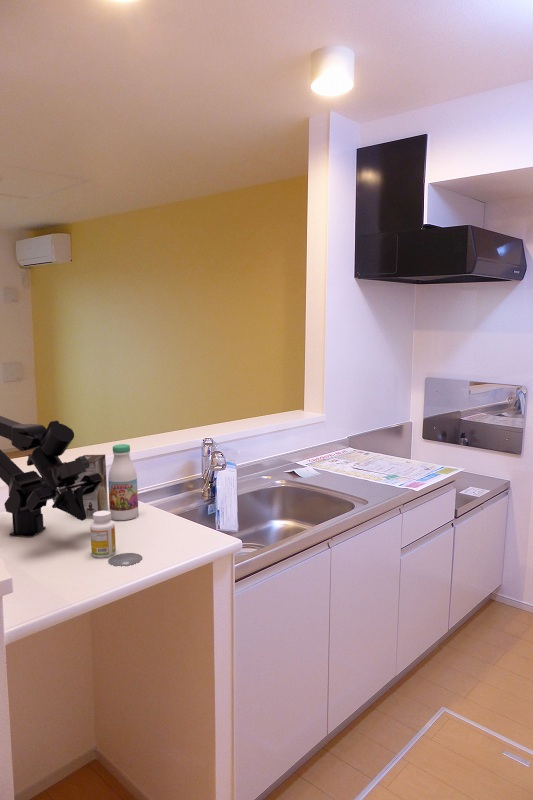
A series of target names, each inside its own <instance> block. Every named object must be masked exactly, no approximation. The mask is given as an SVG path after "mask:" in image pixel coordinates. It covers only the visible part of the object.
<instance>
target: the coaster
mask: <svg viewBox="0 0 533 800" xmlns="http://www.w3.org/2000/svg"><path fill="white" fill-rule="evenodd" d="M141 560H142V561H143V556H142V554H140V553H135V552H124V553H123V552H122V553H119V554H115V555H112V556H110V558H108V560H107V562H108V563H107V564H109V565H110V566H112V565H113V567H117V566H121V567H122V566H125V567H129V566H130V565H131V566H134V564H135V565H136V563H137V564H139V563H141V562H142V561H141ZM140 561H141V562H140ZM121 567H120V568H121Z"/></svg>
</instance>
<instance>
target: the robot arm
mask: <svg viewBox="0 0 533 800" xmlns="http://www.w3.org/2000/svg"><path fill="white" fill-rule="evenodd" d="M0 436H1V437H3V438H5V439H8V440H9V441H11V442H10V443H11V446H12V447H14V448H16V449H17V450H19V451H21V452H26V451H30V450H33V451H32V453H31V454H30V453H29V454H28V456H27V461H26V465H27V467H28V466H29V467H31V466H34V467H35V469H36V471H35V470H29V471H27V472H24V471H23V470H22V469H21V468H20V467H19V466H18V465H17V464H16V463H15V462H14V461H13V460H12V459H11V458H10V457H9V456H7V454H6V453H5V452H4V451H2V449H0V480H2V482H4V483H5V485H7V487H8V498H7V499H6V500H5V502H4V508H5V512H7V513H10V514H12V517H11V518H12V530H13V531H11V532H9V536H13V537H28V538H32V537H34V536H36V535H37V534H40V533H41V532H43V531H45V530H46V529H47V527H46V526H44V514H43V513H42V508H43V507H46V506H47V503H48V501H49V500H52V502H53V504H52V506H51V507H52V508H53V509H58V510H60V511H63V512H65V513H67V514H69V515H70V516H72V517H74V518H76V519H77V520H80V521H81V522H82V521H85V520H86V513H85V508H84V503H83V496H85V495H88V494H91V493H93V492H94V491H95V490H96V489H97V487H98V486H99V485H100V483H101V482H102V481H103V479H102V477H101V476H100V474H99V473H92V474H88V475H85V476H84V477H83V478H82V480H81V481H80V482H79V483H75V480H77V479H78V478H79V476H78V475H79V474H81V473H83V472H86V469H87V468H89V466H90V464H89V461H88V460H87V458H86V457H85V456H83V455H81V456H78V457H77V458H74V460H72V461H68V462H67V461H65V462H62V460H61V458H60V456H62V455H63V454H64V453H65V452H66V450H67V449H68V447H69V445H70V444H71V443H72V441H73V440H74V439H75V438H74V437H75V432H74V431H73V429H72V428H70V426H67V425H66V424H62V423H60V422H59V421H58V420H51V421H49V422H48V425H47V427H45V426H44V425H42V424H38V423H20V422H18V421H15V420H12V419H9V418H8V417H4V416H2V415H0Z"/></svg>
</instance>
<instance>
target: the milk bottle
mask: <svg viewBox="0 0 533 800" xmlns="http://www.w3.org/2000/svg"><path fill="white" fill-rule="evenodd" d="M130 454H131V446H130V444H126V443H120V444H114V445H113V446H112V455H113V460H112V463H111V465H110V467H109V471H108V475H107V476H108V480H107V487H108V509H109V511H110V512H111V519H110V520H115V521H128V520H132V519H135V518H137V517H138V516H139V494H138V493H139V491H138V477H137V470H136V468H135V466H134V464H133V462H132V459H131V456H130Z"/></svg>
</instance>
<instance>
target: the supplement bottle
mask: <svg viewBox="0 0 533 800" xmlns="http://www.w3.org/2000/svg"><path fill="white" fill-rule="evenodd" d="M92 520H93V522H91V524H90V525H89V526H90V527H89V529H90V543H91V544H90V545H91V547H90V548H91V549H90V550H91V555H92V557H94V558H99V559H100V558H101V559H103V558H104V559H105V558H109V557H113V556H114V554H115V555H116V552H117V551H116V528H115V527H116V526H115V521H113V519H111V512H110V510H106V511H97V512H95V513H93V518H92Z"/></svg>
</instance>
